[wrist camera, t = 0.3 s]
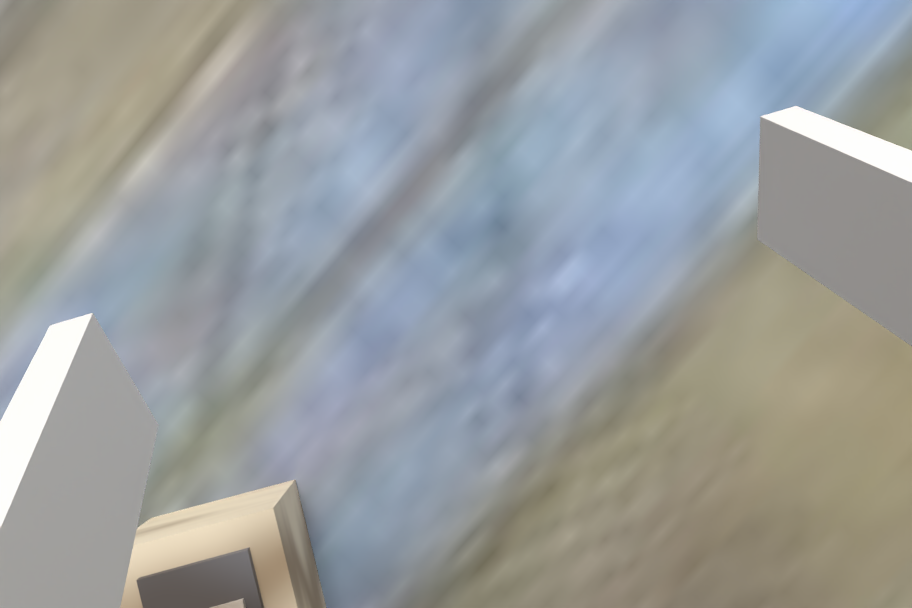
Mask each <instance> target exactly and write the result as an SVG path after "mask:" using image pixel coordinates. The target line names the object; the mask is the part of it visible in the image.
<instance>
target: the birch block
mask: <svg viewBox="0 0 912 608" xmlns="http://www.w3.org/2000/svg"><path fill="white" fill-rule="evenodd" d="M120 608H326V604H325V600H324V596H323V591H322V587H321V583H320V579H319V575H318V571H317V567H316V563H315V559H314V555H313V551H312V547H311V542H310V538H309V534H308V530H307V526H306V522H305V518H304V514H303V510H302V506H301V502H300V497H299V493H298V489H297V485H296V481H295V480H292V481H288V482H284V483H280V484H277V485H273V486H269V487H266V488H262V489H258V490H254V491H251V492H247V493H243V494H239V495H236V496H232V497H228V498H224V499H221V500H217V501H213V502H209V503H206V504H202V505H198V506H194V507H191V508H187V509H183V510H179V511H176V512H172V513H168V514H164V515H161V516H157V517H153V518H151V519H149V520H148V521H146V522H145V523H144V524H142V525H141V526H139V527H138V528H137V530H136V535H135V539H134V544H133V549H132V554H131V558H130V563H129V568H128V573H127V577H126V582H125V587H124V592H123V596H122V601H121V606H120Z"/></svg>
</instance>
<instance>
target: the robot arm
mask: <svg viewBox="0 0 912 608" xmlns="http://www.w3.org/2000/svg"><path fill="white" fill-rule="evenodd" d="M757 239H758V240H759V241H761V242H762V243H763V244H765V245H766V246H768V247H769V248H771V249H772V250H774V251H775V252H776V253H778V254H779V255H781V256H782V257H784V258H785V259H787V260H788V261H789V262H791V263H792V264H794V265H795V266H797V267H798V268H800V269H801V270H802V271H804V272H805V273H807V274H808V275H810V276H811V277H813V278H814V279H815V280H817V281H818V282H820V283H821V284H823V285H824V286H826V287H827V288H828V289H830V290H831V291H833V292H834V293H836V294H837V295H839V296H840V297H841V298H843V299H844V300H846V301H847V302H849V303H850V304H852V305H853V306H854V307H856V308H857V309H859V310H860V311H862V312H863V313H865V314H866V315H867V316H869V317H870V318H872V319H873V320H875V321H876V322H878V323H879V324H881V325H882V326H883V327H885V328H886V329H888V330H889V331H891V332H892V333H894V334H895V335H896V336H898V337H899V338H901V339H902V340H904V341H905V342H907V343H908V344H909V345H911V346H912V151H911V150H908V149H905V148H903V147H900V146H898V145H895V144H893V143H890V142H887V141H885V140H882V139H880V138H877V137H875V136H872V135H869V134H867V133H864V132H862V131H859V130H857V129H854V128H851V127H849V126H846V125H844V124H841V123H838V122H836V121H833V120H831V119H828V118H826V117H823V116H820V115H818V114H815V113H813V112H810V111H808V110H805V109H802V108H800V107H797V106H794V107H791V108H788V109H784V110H781V111H777V112H774V113H771V114H767V115H764V116H760V153H759V191H758V230H757ZM158 426H159V425H158V423H157V422H156V420H155V418H154V416H153V415H152V413H151V411H150V410H149V408H148V406H147V405H146V403H145V401H144V399H143V398H142V396H141V394H140V393H139V391H138V389H137V388H136V386H135V384H134V382H133V381H132V379H131V377H130V376H129V374H128V372H127V370H126V369H125V367H124V365H123V364H122V362H121V360H120V359H119V357H118V355H117V353H116V352H115V350H114V348H113V347H112V345H111V343H110V342H109V340H108V338H107V336H106V335H105V333H104V331H103V330H102V328H101V326H100V324H99V323H98V321H97V319H96V318H95V316H94V314H93V313H91V314H87V315H84V316H81V317H77V318H74V319H70V320H67V321H64V322H60V323H57V324H53V325H50V327H49V329H48V330H47V332H46V334H45V336H44V338H43V340H42V342H41V344H40V346H39V348H38V350H37V352H36V354H35V356H34V358H33V359H32V361H31V363H30V365H29V367H28V369H27V371H26V373H25V375H24V377H23V379H22V381H21V383H20V385H19V387H18V388H17V390H16V392H15V394H14V396H13V398H12V400H11V402H10V404H9V406H8V408H7V410H6V412H5V414H4V416H3V417H2V419H1V421H0V608H120V606H121V601H122V596H123V592H124V587H125V582H126V577H127V573H128V568H129V563H130V558H131V554H132V549H133V544H134V539H135V535H136V530H137V525H138V521H139V516H140V511H141V506H142V502H143V497H144V492H145V487H146V483H147V478H148V473H149V468H150V464H151V459H152V454H153V449H154V445H155V440H156V435H157V431H158Z"/></svg>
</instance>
